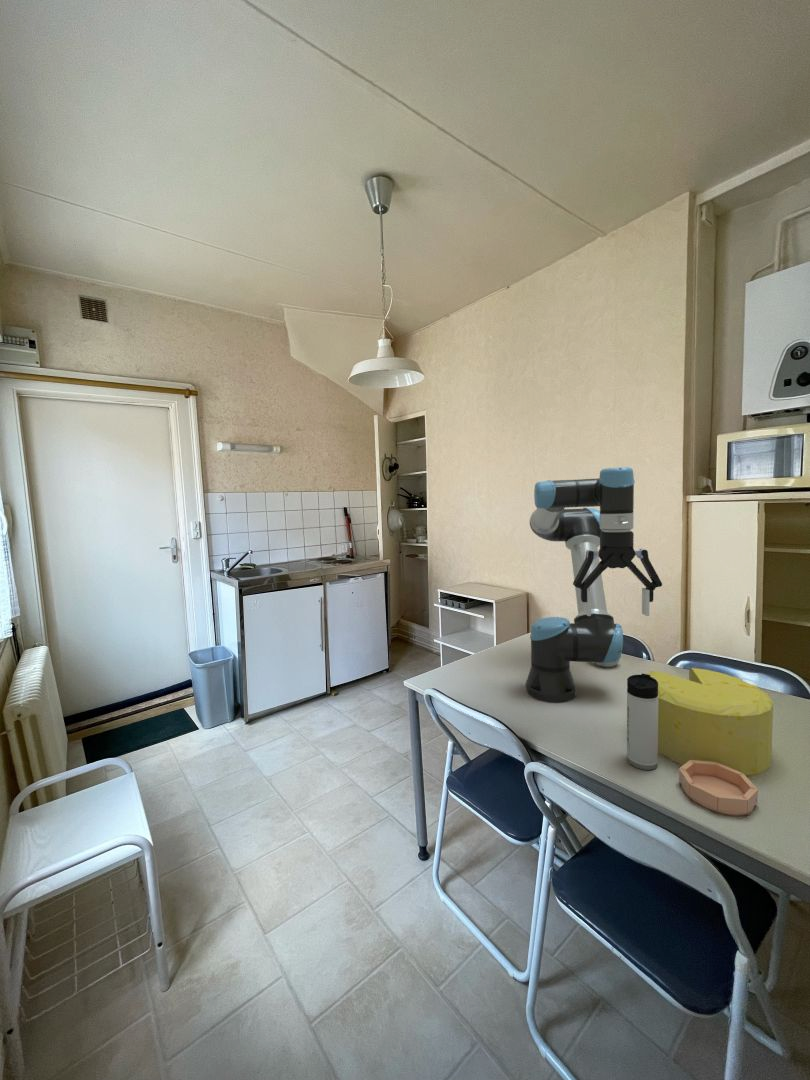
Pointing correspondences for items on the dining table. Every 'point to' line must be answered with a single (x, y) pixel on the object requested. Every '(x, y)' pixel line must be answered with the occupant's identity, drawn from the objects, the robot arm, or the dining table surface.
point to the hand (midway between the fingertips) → (616, 614)
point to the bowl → (718, 787)
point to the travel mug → (642, 721)
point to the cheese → (714, 720)
